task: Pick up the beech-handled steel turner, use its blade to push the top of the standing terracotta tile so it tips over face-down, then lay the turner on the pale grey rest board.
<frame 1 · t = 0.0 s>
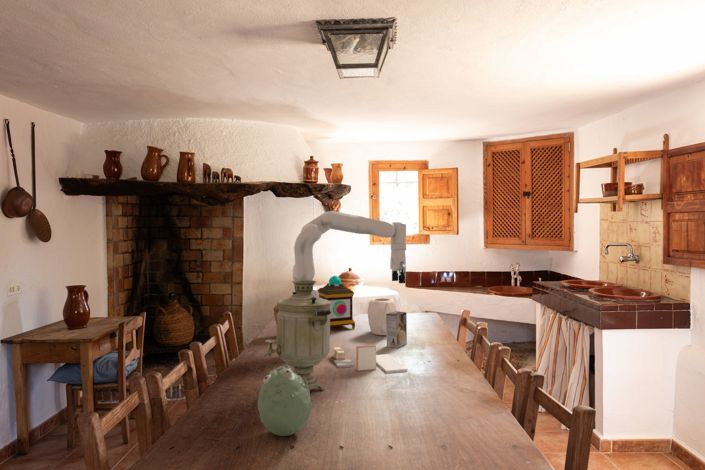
hand: (398, 282, 256), 31 cm above the table, tool pointing down, fingers open, 9 cm apart
white faceted vase: (382, 334, 281), on the table
samovar: (296, 391, 191), on the table
tile: (366, 369, 217), on the table
pale green egg shape: (285, 434, 153), on the table
rest board: (387, 364, 224), on the table
plant pot: (287, 336, 278), on the table
turner: (341, 361, 229), on the table
decorative lantern: (335, 328, 298), on the table
coffee box: (396, 345, 257), on the table
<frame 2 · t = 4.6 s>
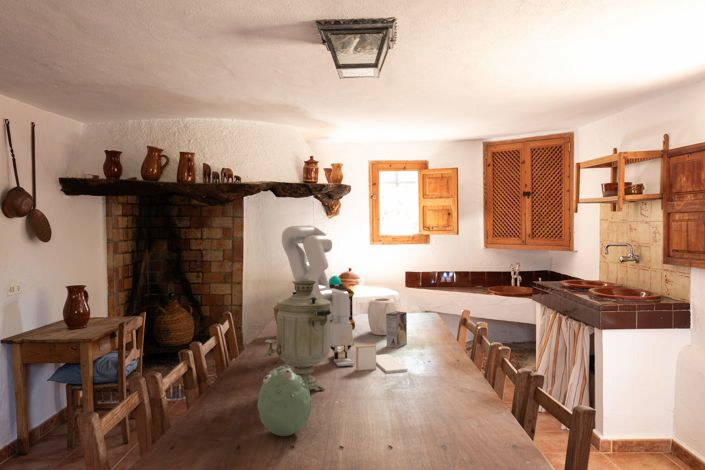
hand: (340, 360, 230), 0 cm above the table, tool pointing down, fingers closed on turner, 2 cm apart
turner: (341, 360, 229), on the table, touching gripper
everything else where it was.
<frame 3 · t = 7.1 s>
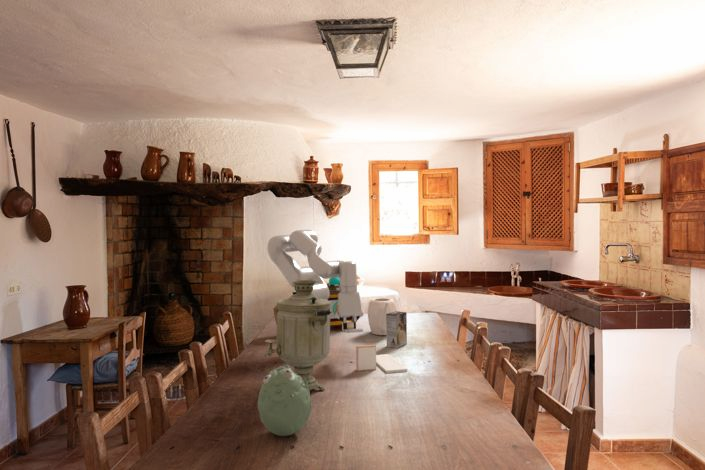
hand: (349, 330, 230), 13 cm above the table, tool pointing down, fingers closed on turner, 2 cm apart
turner: (350, 331, 228), point 13 cm above the table, tilted 9°, touching gripper
everything else where it was.
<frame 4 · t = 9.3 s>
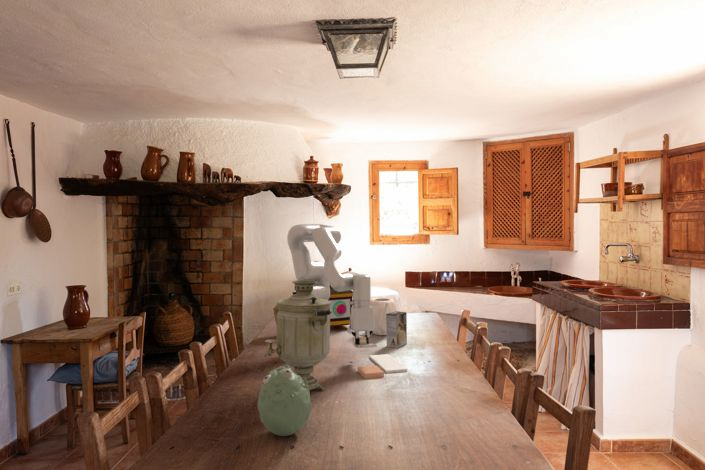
hand: (362, 346, 222), 8 cm above the table, tool pointing down, fingers closed on turner, 3 cm apart
tile: (367, 368, 215), point 1 cm above the table, tilted 90°
turner: (362, 346, 221), point 8 cm above the table, tilted 11°, touching gripper
everything else where it was.
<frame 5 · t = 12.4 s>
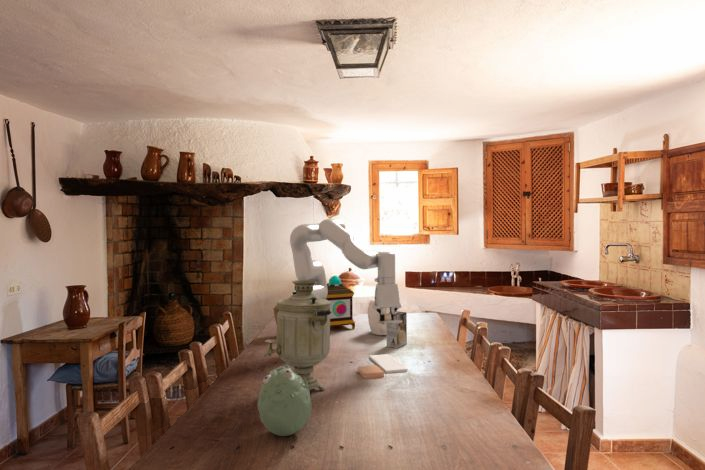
hand: (386, 322, 224), 18 cm above the table, tool pointing down, fingers closed on turner, 3 cm apart
turner: (387, 323, 223), point 18 cm above the table, tilted 11°, touching gripper
everything else where it was.
when the fingers open (2 cm above the table, at t = 15.3 s): turner drops 1 cm, resting on rest board.
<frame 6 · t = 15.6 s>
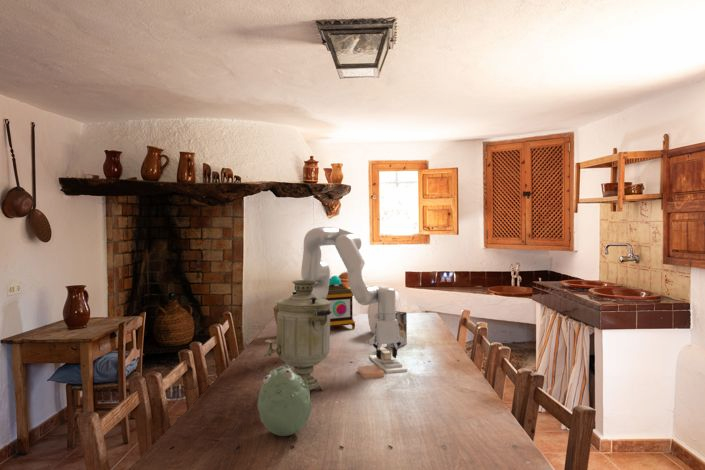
hand: (386, 357, 225), 3 cm above the table, tool pointing down, fingers open, 6 cm apart
turner: (387, 361, 224), point 1 cm above the table, touching rest board
everything else where it was.
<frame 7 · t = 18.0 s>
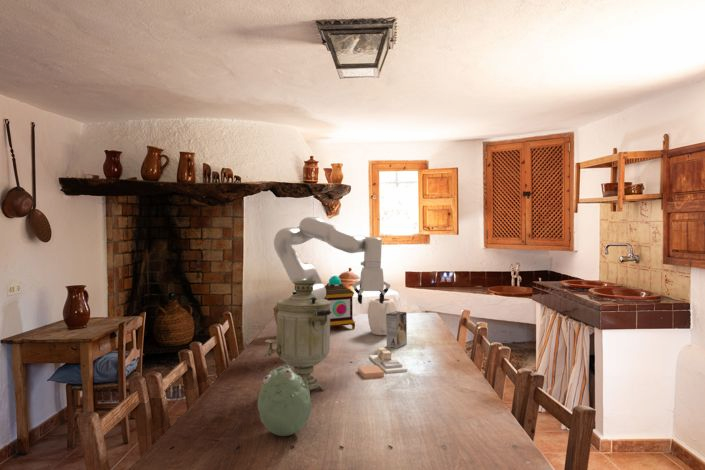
hand: (370, 303, 232), 25 cm above the table, tool pointing down, fingers open, 9 cm apart
nothing on the table moved.
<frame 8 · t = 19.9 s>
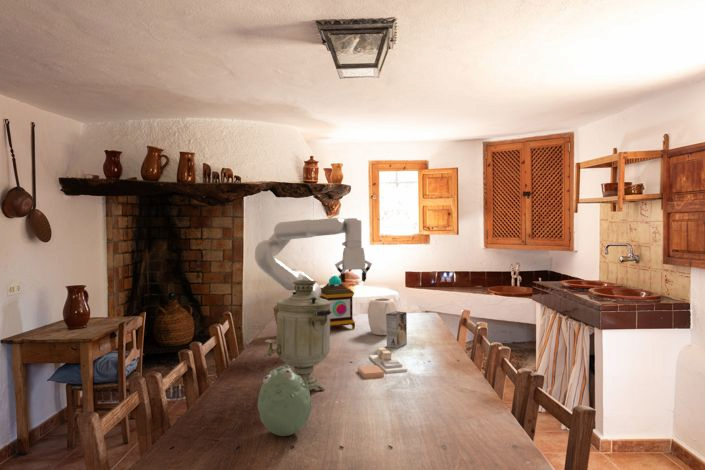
hand: (353, 281, 242), 33 cm above the table, tool pointing down, fingers open, 9 cm apart
nothing on the table moved.
at the end: tile tilted 90°; turner inside the target area on the rest board (0.1 cm from its centre), point 1.0 cm above the rest board's base; the gripper is holding nothing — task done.
